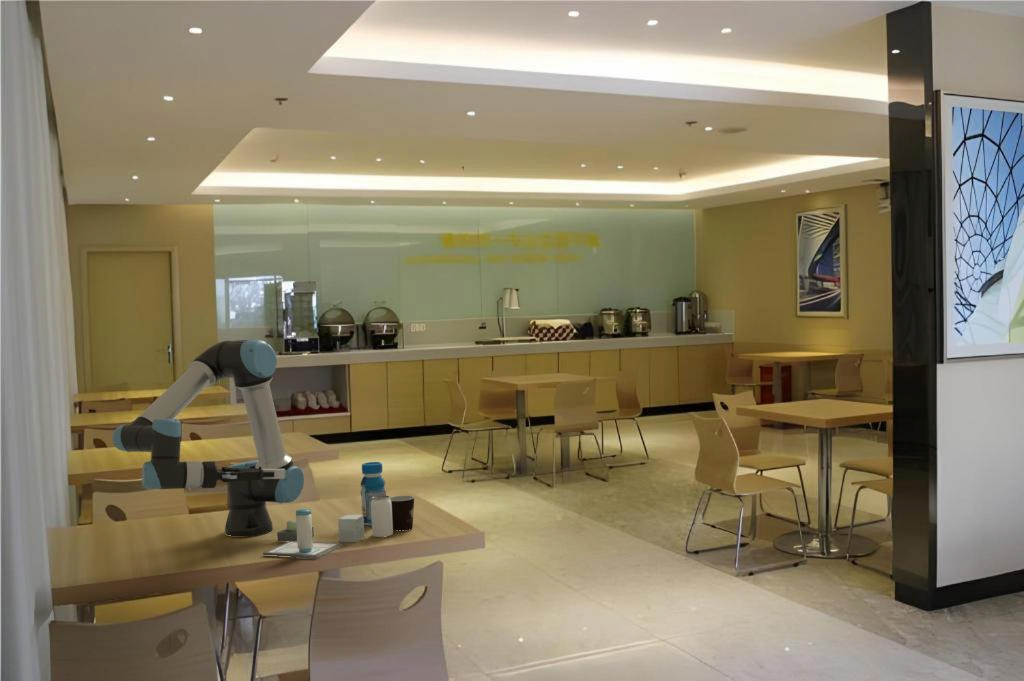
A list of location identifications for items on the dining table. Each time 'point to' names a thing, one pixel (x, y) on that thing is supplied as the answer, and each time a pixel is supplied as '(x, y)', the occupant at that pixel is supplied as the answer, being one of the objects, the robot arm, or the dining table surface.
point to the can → (381, 516)
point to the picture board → (293, 551)
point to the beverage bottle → (371, 487)
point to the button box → (288, 535)
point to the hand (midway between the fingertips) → (284, 473)
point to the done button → (291, 526)
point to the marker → (304, 530)
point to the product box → (351, 528)
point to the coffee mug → (402, 512)
